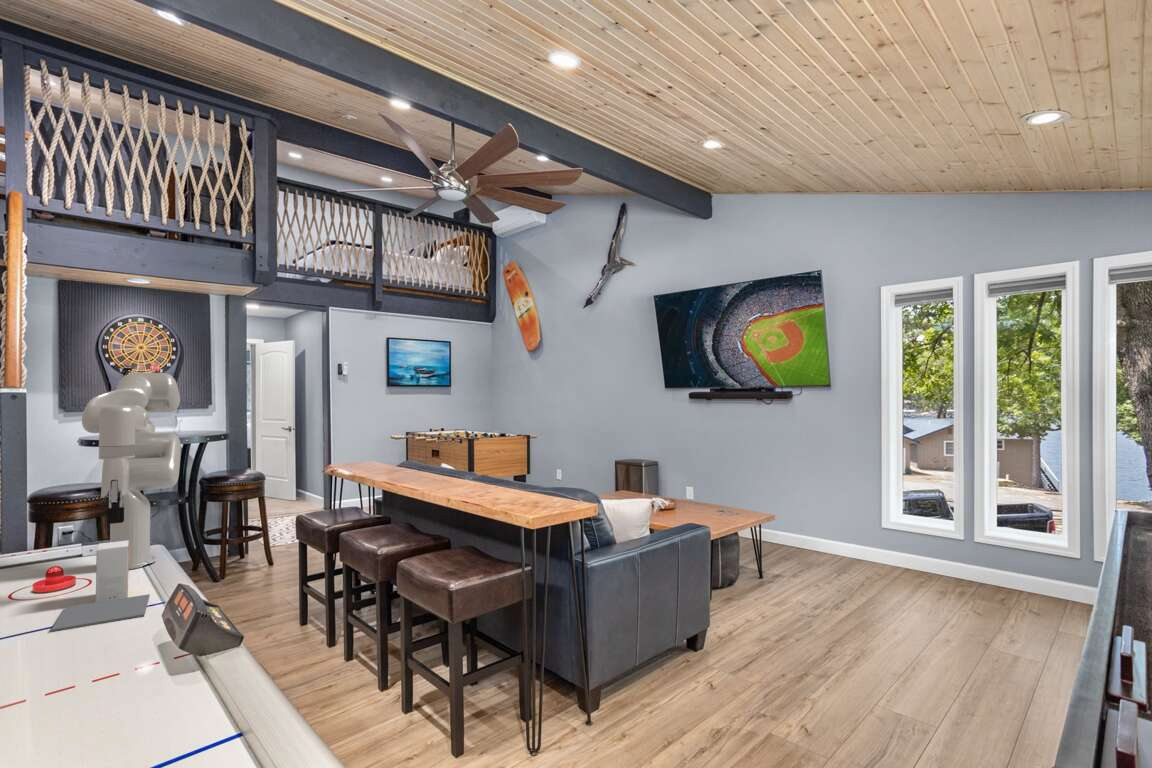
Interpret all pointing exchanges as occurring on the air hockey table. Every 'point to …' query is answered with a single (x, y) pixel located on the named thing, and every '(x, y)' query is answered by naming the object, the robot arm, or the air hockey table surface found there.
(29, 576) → the air hockey table surface
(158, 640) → the air hockey table surface
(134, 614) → the mat
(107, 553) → the small box
